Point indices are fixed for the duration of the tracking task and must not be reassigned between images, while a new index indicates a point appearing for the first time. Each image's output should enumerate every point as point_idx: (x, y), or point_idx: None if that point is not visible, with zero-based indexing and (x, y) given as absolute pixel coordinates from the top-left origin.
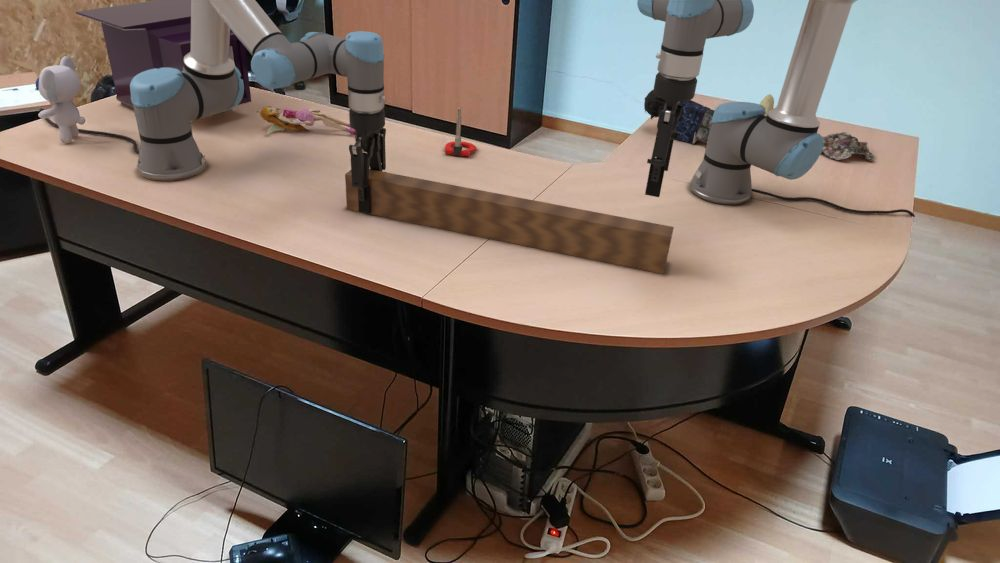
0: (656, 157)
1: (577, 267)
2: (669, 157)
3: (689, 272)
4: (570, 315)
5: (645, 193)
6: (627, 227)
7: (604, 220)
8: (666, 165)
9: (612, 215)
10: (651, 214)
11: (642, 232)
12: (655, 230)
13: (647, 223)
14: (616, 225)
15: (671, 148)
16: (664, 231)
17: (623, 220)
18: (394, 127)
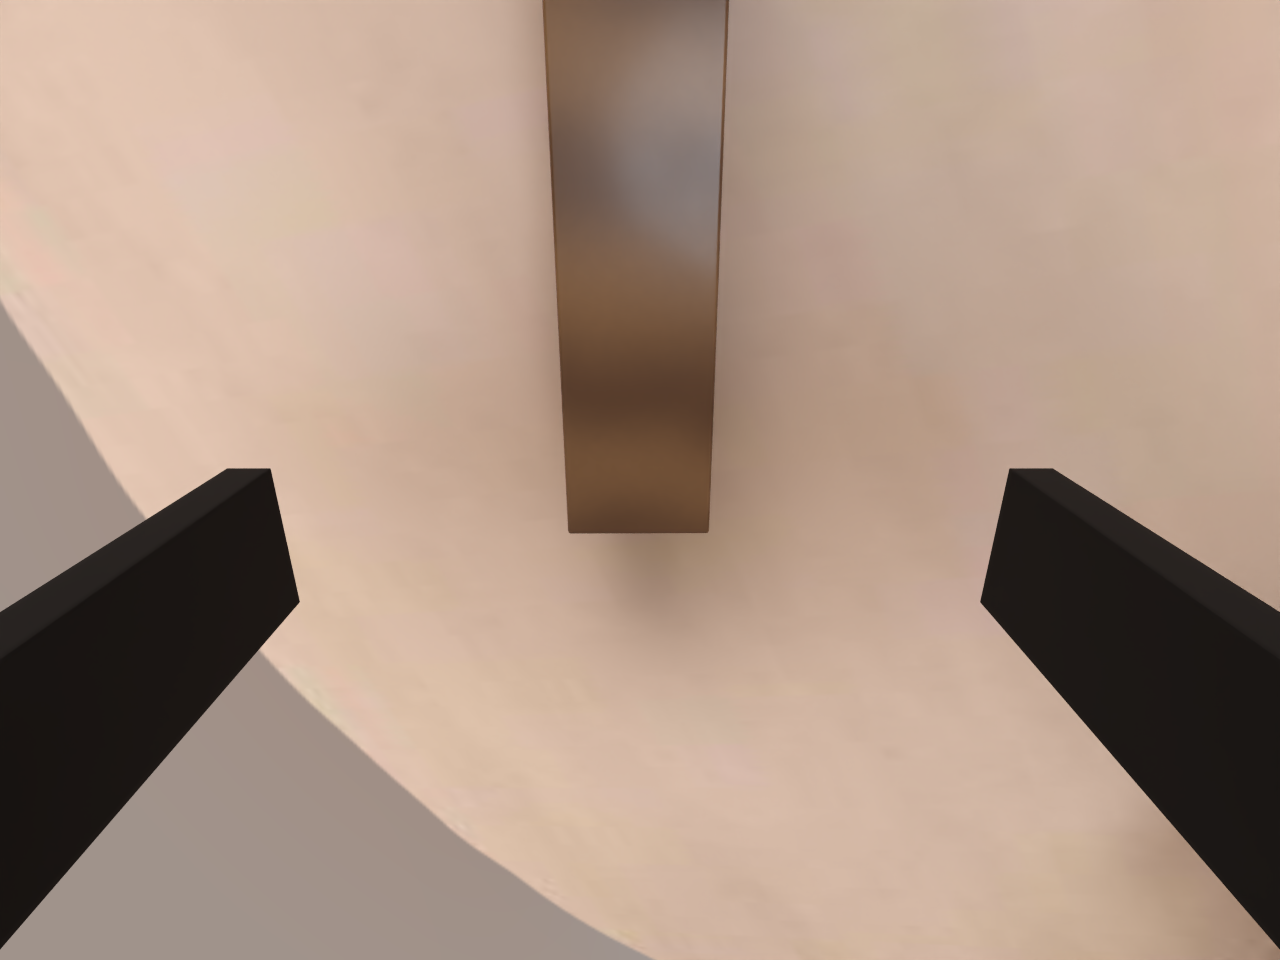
0: (1099, 534)
1: (455, 13)
2: (1076, 703)
3: (651, 546)
4: (2, 93)
5: (217, 477)
6: (571, 265)
7: (608, 72)
8: (1017, 618)
9: (717, 119)
10: (1210, 317)
11: (561, 369)
12: (613, 442)
13: (688, 383)
14: (568, 182)
15: (1173, 813)
16: (622, 492)
17: (667, 218)
18: None
